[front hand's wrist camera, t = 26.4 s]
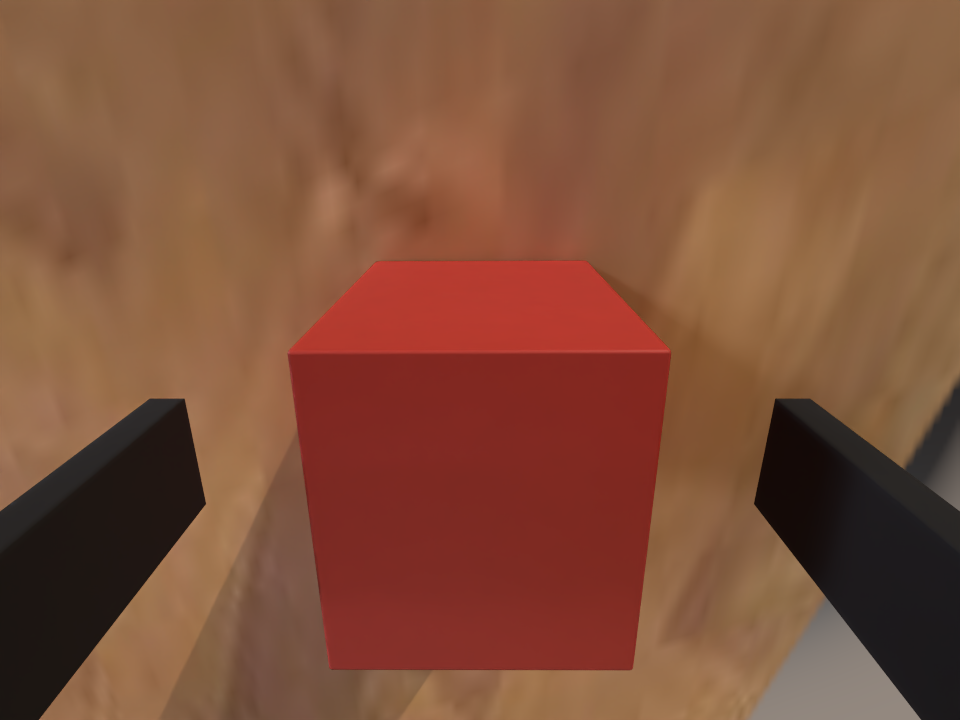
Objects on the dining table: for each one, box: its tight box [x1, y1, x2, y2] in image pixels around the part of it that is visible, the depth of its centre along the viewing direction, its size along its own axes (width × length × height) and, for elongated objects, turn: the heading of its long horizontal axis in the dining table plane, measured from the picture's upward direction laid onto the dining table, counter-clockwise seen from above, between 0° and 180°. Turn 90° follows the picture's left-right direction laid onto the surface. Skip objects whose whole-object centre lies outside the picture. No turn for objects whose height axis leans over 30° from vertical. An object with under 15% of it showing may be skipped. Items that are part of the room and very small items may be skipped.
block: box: [288, 261, 671, 670], centre depth 14 cm, size 6×7×8 cm
